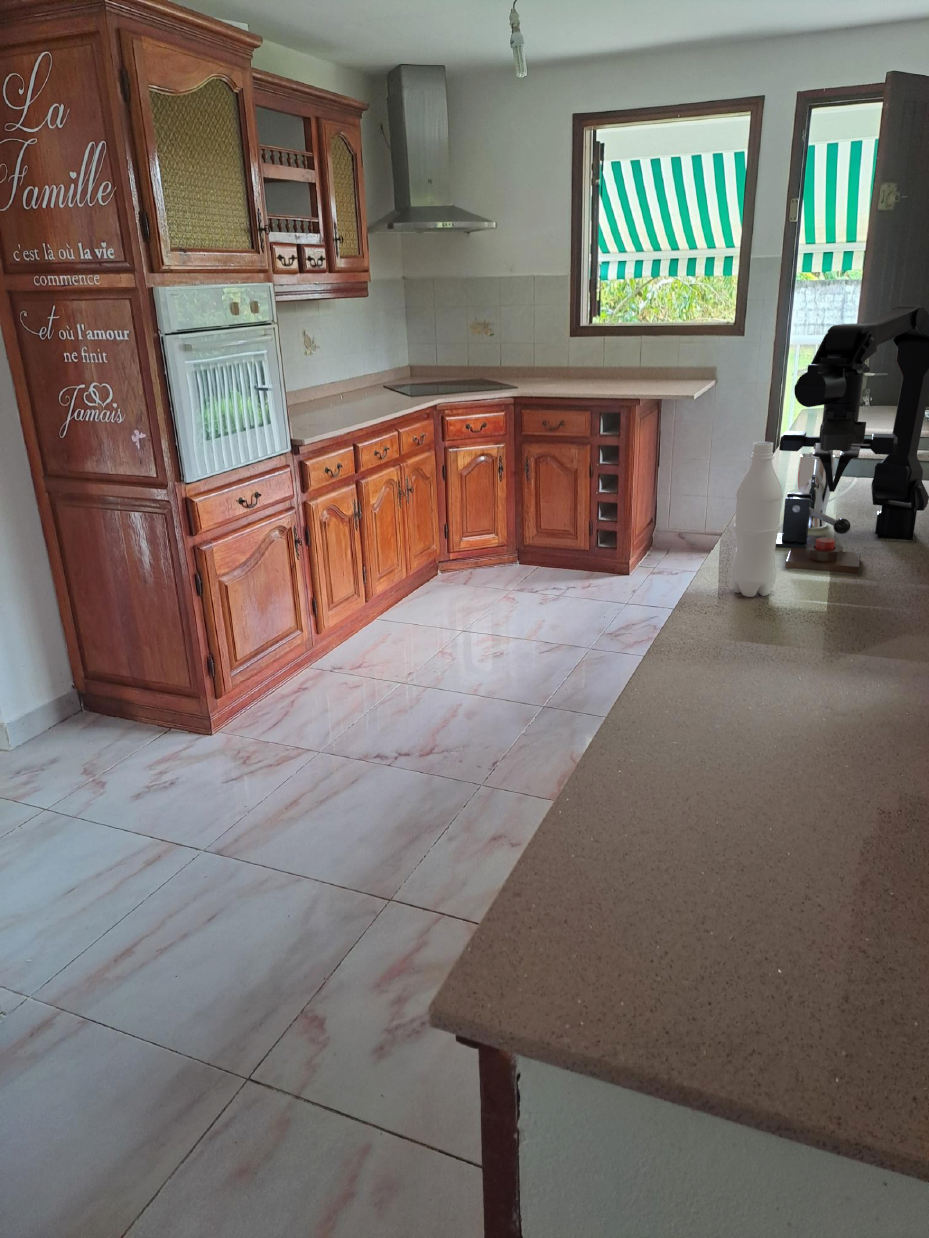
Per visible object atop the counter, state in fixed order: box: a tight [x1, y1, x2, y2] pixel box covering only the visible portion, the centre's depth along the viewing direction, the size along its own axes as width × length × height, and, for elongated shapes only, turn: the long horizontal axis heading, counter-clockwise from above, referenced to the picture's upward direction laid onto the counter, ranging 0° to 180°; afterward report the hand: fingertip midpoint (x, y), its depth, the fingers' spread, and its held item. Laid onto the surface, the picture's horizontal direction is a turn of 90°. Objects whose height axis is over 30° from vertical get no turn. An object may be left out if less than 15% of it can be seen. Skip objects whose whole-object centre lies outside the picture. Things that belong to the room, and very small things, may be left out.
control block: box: [785, 543, 861, 574], centre depth 159 cm, size 12×9×4 cm
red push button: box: [815, 537, 836, 550], centre depth 158 cm, size 3×3×2 cm
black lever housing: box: [775, 492, 827, 549], centre depth 171 cm, size 11×8×10 cm
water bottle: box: [730, 441, 784, 598], centre depth 144 cm, size 7×7×25 cm
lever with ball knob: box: [793, 496, 851, 535], centre depth 169 cm, size 12×3×3 cm, turn 66°
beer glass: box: [796, 452, 836, 530], centre depth 182 cm, size 7×7×15 cm
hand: (832, 491), depth 157 cm, fingers closed
